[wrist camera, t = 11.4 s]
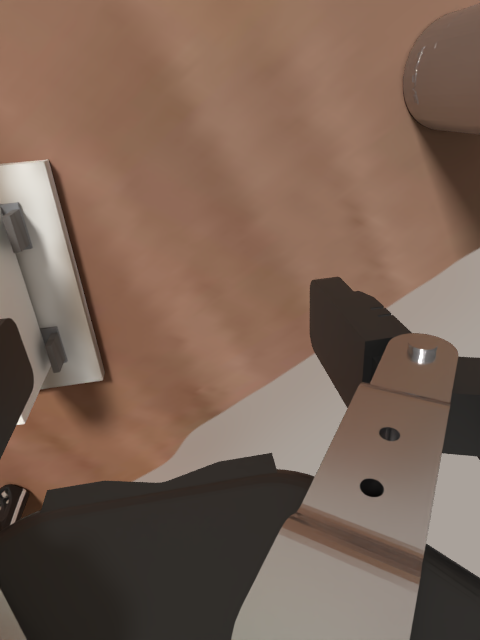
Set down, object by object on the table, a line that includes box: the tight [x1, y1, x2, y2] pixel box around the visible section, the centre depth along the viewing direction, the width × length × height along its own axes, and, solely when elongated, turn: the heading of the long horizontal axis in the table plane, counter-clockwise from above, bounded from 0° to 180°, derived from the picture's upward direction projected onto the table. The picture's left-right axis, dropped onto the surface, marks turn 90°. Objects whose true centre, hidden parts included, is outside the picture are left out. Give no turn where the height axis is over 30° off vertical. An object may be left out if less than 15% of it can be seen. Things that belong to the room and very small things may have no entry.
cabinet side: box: [0, 160, 105, 389], centre depth 39 cm, size 11×22×4 cm, turn 4°
